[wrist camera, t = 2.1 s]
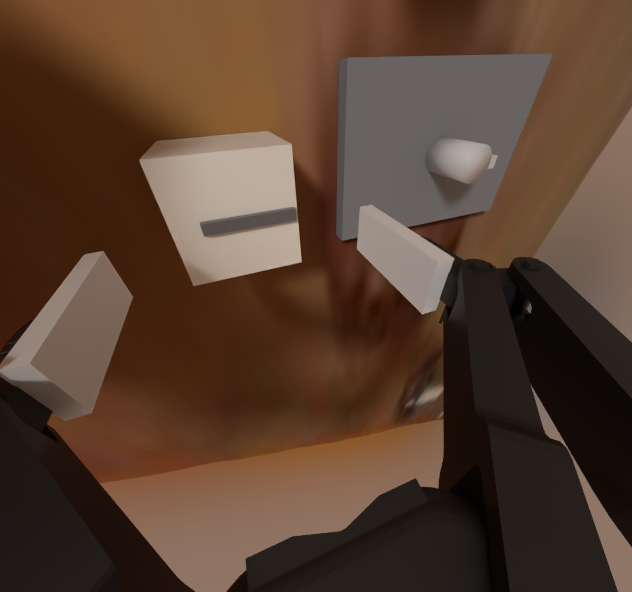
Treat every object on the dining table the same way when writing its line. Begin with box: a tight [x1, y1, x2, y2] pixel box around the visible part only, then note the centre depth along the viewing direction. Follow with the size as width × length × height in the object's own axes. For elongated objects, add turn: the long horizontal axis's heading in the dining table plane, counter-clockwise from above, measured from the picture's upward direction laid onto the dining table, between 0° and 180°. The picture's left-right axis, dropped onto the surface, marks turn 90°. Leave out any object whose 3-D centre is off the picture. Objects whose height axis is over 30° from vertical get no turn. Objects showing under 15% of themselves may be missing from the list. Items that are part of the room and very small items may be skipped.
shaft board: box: [336, 54, 553, 241], centre depth 23 cm, size 20×14×6 cm
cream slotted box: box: [139, 131, 302, 286], centre depth 19 cm, size 8×8×7 cm
